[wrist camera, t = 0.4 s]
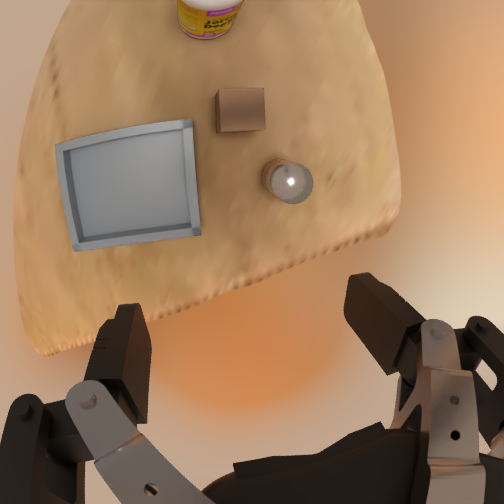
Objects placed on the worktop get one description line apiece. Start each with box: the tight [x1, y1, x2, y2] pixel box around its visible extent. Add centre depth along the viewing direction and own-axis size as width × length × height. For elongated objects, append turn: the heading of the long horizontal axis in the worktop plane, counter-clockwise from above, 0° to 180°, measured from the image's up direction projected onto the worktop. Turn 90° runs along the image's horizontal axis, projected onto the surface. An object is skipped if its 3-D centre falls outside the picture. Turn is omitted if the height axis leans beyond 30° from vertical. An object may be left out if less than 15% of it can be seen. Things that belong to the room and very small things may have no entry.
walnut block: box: [215, 88, 266, 133], centre depth 27 cm, size 4×4×5 cm
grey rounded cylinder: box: [261, 159, 313, 204], centre depth 31 cm, size 4×4×6 cm
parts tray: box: [55, 119, 201, 252], centre depth 29 cm, size 13×16×3 cm
